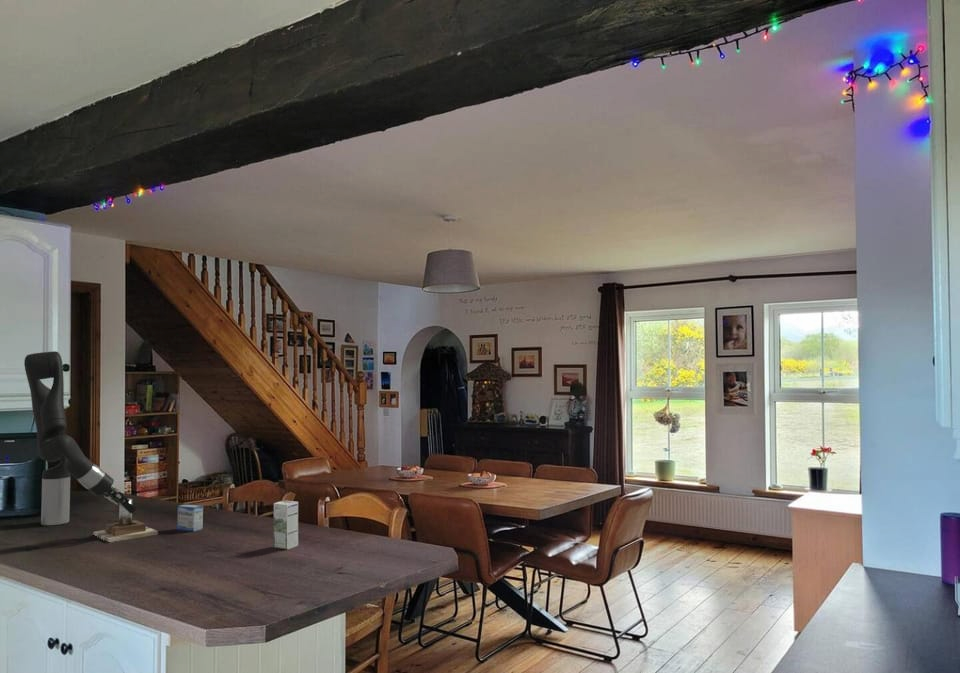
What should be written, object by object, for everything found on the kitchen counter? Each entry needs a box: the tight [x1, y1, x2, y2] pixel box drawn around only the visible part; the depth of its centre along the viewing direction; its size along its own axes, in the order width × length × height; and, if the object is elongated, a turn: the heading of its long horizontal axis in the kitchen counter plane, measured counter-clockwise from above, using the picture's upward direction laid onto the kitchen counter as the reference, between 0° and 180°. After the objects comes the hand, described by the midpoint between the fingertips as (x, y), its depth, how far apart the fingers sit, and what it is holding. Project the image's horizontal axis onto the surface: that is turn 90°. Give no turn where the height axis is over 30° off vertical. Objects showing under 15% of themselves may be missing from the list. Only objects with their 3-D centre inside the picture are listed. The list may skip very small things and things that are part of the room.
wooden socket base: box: [92, 519, 159, 543], centre depth 244 cm, size 16×16×4 cm
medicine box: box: [176, 504, 204, 533], centre depth 251 cm, size 8×4×9 cm, turn 68°
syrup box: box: [273, 500, 299, 550], centre depth 225 cm, size 6×6×14 cm
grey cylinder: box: [118, 498, 133, 524], centre depth 244 cm, size 4×4×8 cm
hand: (131, 510), depth 245 cm, fingers closed on grey cylinder, 4 cm apart
